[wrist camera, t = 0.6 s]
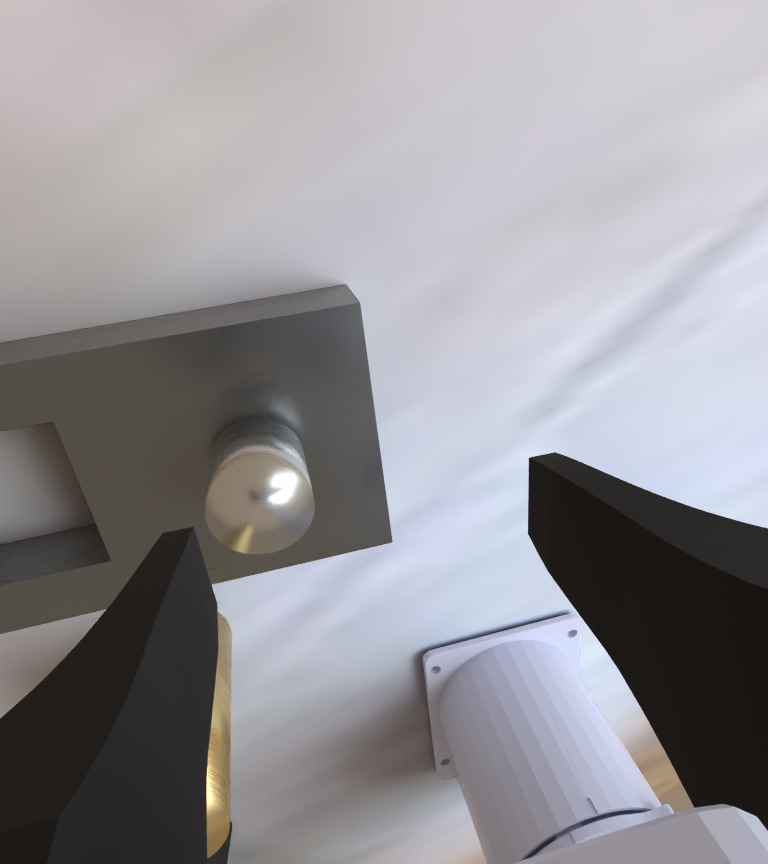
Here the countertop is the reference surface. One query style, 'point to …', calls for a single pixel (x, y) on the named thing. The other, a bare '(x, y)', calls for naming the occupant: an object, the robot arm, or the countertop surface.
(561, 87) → the countertop surface
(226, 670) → the cylinder
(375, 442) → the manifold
